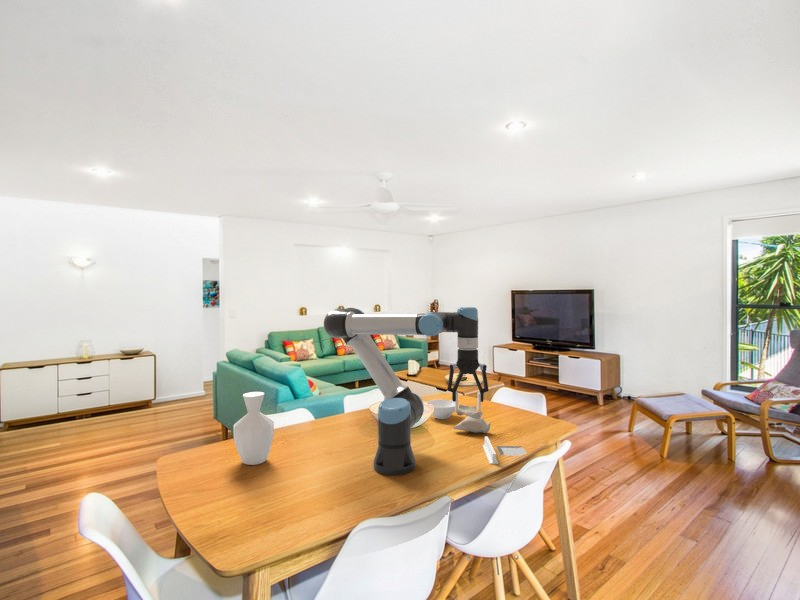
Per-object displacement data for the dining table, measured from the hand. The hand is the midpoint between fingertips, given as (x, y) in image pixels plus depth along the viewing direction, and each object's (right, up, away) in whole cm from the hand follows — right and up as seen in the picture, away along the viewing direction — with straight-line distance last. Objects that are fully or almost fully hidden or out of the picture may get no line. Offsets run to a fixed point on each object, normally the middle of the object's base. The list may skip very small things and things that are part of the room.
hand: (467, 410), depth 146 cm
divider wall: (+9, -19, +6) cm, 22 cm away
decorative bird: (+1, -20, +30) cm, 36 cm away
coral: (-3, -3, +2) cm, 5 cm away
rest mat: (+20, -19, +8) cm, 28 cm away
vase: (-80, -20, +1) cm, 82 cm away
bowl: (-4, -19, +54) cm, 58 cm away
